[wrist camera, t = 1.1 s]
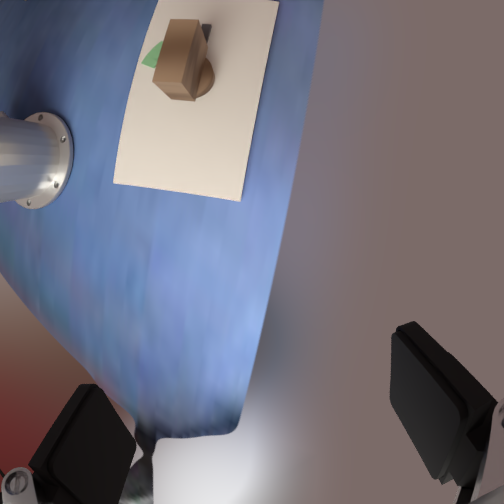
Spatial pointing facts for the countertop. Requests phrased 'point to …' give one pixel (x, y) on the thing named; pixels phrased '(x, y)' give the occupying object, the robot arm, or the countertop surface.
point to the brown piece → (184, 61)
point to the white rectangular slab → (198, 103)
